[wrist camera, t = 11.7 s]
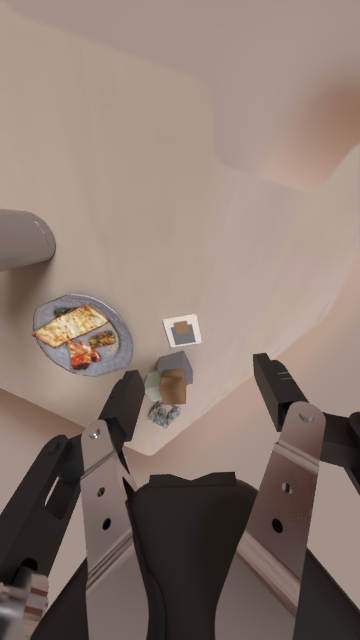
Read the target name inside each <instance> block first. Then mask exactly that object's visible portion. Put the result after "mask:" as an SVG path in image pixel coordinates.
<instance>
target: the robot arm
mask: <svg viewBox="0 0 360 640" xmlns="http://www.w3.org/2000/svg"><path fill="white" fill-rule="evenodd" d="M54 252H55V240H54V237H53V234H52V232H51V230H50V229H49V227H48V226H47V225H46V223H45V222H44V221H43V220H42V219H40V218H39V217H38V216H36V215H34V214H32V213H30V212H25V211H16V210H6V209H0V272H1V271H5V270H10V269H14V268H18V267H23V266H27V265H32V264H36V263H40V262H44V261H47V260H49V259H50V258H51V257H52V256H53V254H54ZM253 365H254V376H255V379H256V382H257V385H258V387H259V389H260V391H261V394H262V397H263V399H264V401H265V404H266V406H267V409H268V411H269V413H270V416H271V418H272V420H273V423H274V425H275V428H276V430H277V432H281V434H280V437H279V440H278V442H277V443H275V445H274V447H273V450H272V453H271V456H270V459H269V462H268V465H267V467H266V470H265V473H264V476H263V479H262V482H261V485H260V488H259V491H258V490H257V489H255V488H254V487H253V486H251V485H249V484H248V483H245V482H244V481H241V480H238V479H236V477H235V472H219V473H218V472H217V473H210V474H208V475H205V476H202V477H200V478H197V479H194V480H187V479H183V478H180V477H177V476H174V475H171V474H162V475H150V479H149V483H147V484H145V485H143V486H142V487H141V488H139V489H138V487H137V485H136V483H135V481H134V478H133V476H132V473H131V470H130V467H129V464H128V461H127V458H126V455H125V452H124V449H123V444H124V442H128V441H131V440H132V436H133V433H134V429H135V426H136V422H137V419H138V415H139V412H140V408H141V405H142V401H143V398H144V394H145V386H144V383H143V381H142V379H141V376H140V374H139V372H138V370H132V371H126V372H125V374H124V376H123V379H120V380H119V381H118V382H117V383H116V384H115V385H114V387H113V389H112V392H111V394H110V396H109V399H108V400H107V402H106V404H105V406H104V408H103V410H102V412H101V414H100V416H99V418H98V420H97V421H94V422H93V423H91V424H90V425H89V426H88V427H87V428H86V429H85V430H84V432H83V434H81V435H78V436H75V437H73V438H70V439H68V438H67V437H66V436H65V435H58V436H56V437H54V438H53V439H51V440H50V441H49V442H48V443H47V444H46V445H45V446H44V447H43V448H42V450H41V452H40V453H39V455H38V456H37V458H36V460H35V461H34V463H33V464H32V466H31V468H30V469H29V471H28V472H27V474H26V475H25V477H24V478H23V480H22V482H21V483H20V485H19V486H18V488H17V490H16V491H15V493H14V495H13V496H12V497H11V499H10V501H9V502H8V504H7V505H6V507H5V509H4V510H3V512H2V513H1V515H0V640H360V610H359V608H358V607H357V606H356V605H355V604H354V603H353V601H352V600H351V599H350V598H349V597H348V595H347V594H346V593H345V592H344V591H343V589H342V588H341V587H340V586H339V585H338V583H337V582H336V581H335V580H334V579H333V577H332V576H331V575H330V574H329V573H328V572H327V570H326V569H325V568H324V567H323V566H322V564H321V563H320V562H319V561H318V560H317V558H316V557H315V556H314V555H313V554H312V552H311V551H310V550H309V549H308V548H307V541H308V535H309V528H310V522H311V516H312V509H313V503H314V496H315V491H316V484H317V478H318V471H319V461H324V462H327V463H330V464H334V465H337V466H341V467H344V469H345V471H346V472H347V474H348V476H349V478H350V480H351V481H352V483H353V485H354V486H355V488H356V490H357V492H358V494H359V495H360V412H355V413H352V414H351V415H350V417H349V418H347V417H342V416H336V415H331V414H327V413H324V412H322V411H321V410H320V409H318V408H317V407H316V406H314V405H312V404H310V403H309V402H308V400H307V399H306V397H305V396H304V394H303V393H302V391H301V390H300V389H299V387H298V385H297V384H296V382H295V381H294V379H292V376H291V375H290V373H289V372H288V370H287V369H286V368H285V366H284V365H283V364H282V363H280V362H279V361H277V360H270V359H269V357H268V355H267V354H266V353H260V354H253ZM57 477H58V478H59V480H58V481H57V484H56V485H55V488H54V490H53V492H52V494H51V496H50V498H49V500H48V502H47V504H46V506H45V501H46V498H47V496H48V494H49V492H50V490H51V488H52V486H53V484H54V482H55V480H56V478H57ZM80 492H81V496H82V507H83V517H84V529H85V540H86V550H87V557H86V558H85V560H84V561H83V563H82V564H81V565H80V567H79V568H78V569H77V571H76V572H75V573H74V575H73V576H72V577H71V579H70V580H69V582H68V583H67V584H66V586H65V587H64V589H63V590H62V591H61V593H60V594H59V595H58V597H57V598H56V600H55V601H54V602H53V604H52V605H51V606H50V608H49V609H48V611H47V612H46V610H47V607H48V597H47V595H48V588H49V587H48V576H49V573H50V571H51V568H52V565H53V563H54V560H55V557H56V555H57V552H58V550H59V547H60V545H61V542H62V539H63V537H64V534H65V531H66V529H67V526H68V524H69V521H70V518H71V515H72V513H73V510H74V508H75V505H76V503H77V500H78V497H79V495H80Z"/></svg>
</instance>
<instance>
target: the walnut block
mask: <svg viewBox="0 0 360 640" xmlns="http://www.w3.org/2000/svg"><path fill="white" fill-rule="evenodd" d="M159 392H160V394H161V397H162V400H163V403H164V405H176V404H186V379H185V375H184V371H183V368H181V369H172V370H163V373H162V378H161V383H160V388H159Z"/></svg>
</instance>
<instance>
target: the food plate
mask: <svg viewBox="0 0 360 640" xmlns="http://www.w3.org/2000/svg"><path fill="white" fill-rule="evenodd" d="M108 321H109V322H110V324H111V325H112V327H113V328H114V330H115V331H116V333H117V335H118V338H119V339H118V341H119V343H118V345H119V346H118V348H117V351H116V350H115V351H113V354H114V355H113V354H112V353H111V354H112V355H111V356H110V355H108V356H109V357H110V358H108V356H107V354H106V353H104V352H106V351H108V350H109V351H111V350H110V349H108V350H107V347H106V346H108V345H110V344H114V343H115V342H116V341H115V337H116V336H115V334H114V333H113V332H112V331H111V330H110V331H109V330H108V331H104V332H100V333H97V332H96V333H95V332H93V331H96V330H97V329H98V328H99V327H102V326H103V325H105V324H107V322H108ZM33 331H34V332H33V333H32V336H33V337H36V340H37V342H38V344H39V345H40V347H41V349H42V350H43V351H44V353H45V354H46V356H48V357H49V358H50V359H51V360H52V361H53V362H54V363H56V364H57V365H59V366H61V367H62V368H64V369H66V370H68V371H69V372H72V373H74V374H81V375H84V376H94V377H96V376H100V375H104V374H107V373H111V372H114V371H117V370H120V369H123V368H124V367H126V366H127V365H128V364H129V362H130V360H131V357H132V347H133V346H132V339H131V337H130V334H129V332H128V330H127V328H126V326H125V325H124V323H123V321H122V319H120V317H119V315H118V314H117V313H116V312H115V311H114V310H113V309H112V308H110V307H108V306H107V305H106V304H104V303H103V302H101V301H99V300H97V299H95V298H93V297H90V296H86V295H81V294H73V293H72V294H71V293H70V294H69V295H65V296H62V297H59V298H57V299H55V300H52V301H50V302H48V303H45V304H43V305H41V307H40V306H39V307H38V308H37V309H36V311H35V314H34V323H33ZM95 334H96V335H95ZM91 335H92V336H91ZM76 340H77V341H78V342H76ZM110 346H111V345H110ZM111 348H112V347H111ZM109 351H108V352H109ZM103 354H106V355H105V356H104V355H103ZM106 356H107V357H106ZM102 357H103V358H102ZM100 360H101V361H100Z"/></svg>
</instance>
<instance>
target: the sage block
mask: <svg viewBox="0 0 360 640" xmlns="http://www.w3.org/2000/svg"><path fill="white" fill-rule="evenodd" d="M160 383H161V377H160V375H159V374H158V372H157V371H154V372H151V373H149V374H148V375H147V379H146V382H145V385H144V386H145V394H146V395H147V396H148V397H149V398H150V399H151V401H152V402H156V401H159V400H162V397H161V394H160V392H159V388H160Z"/></svg>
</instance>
